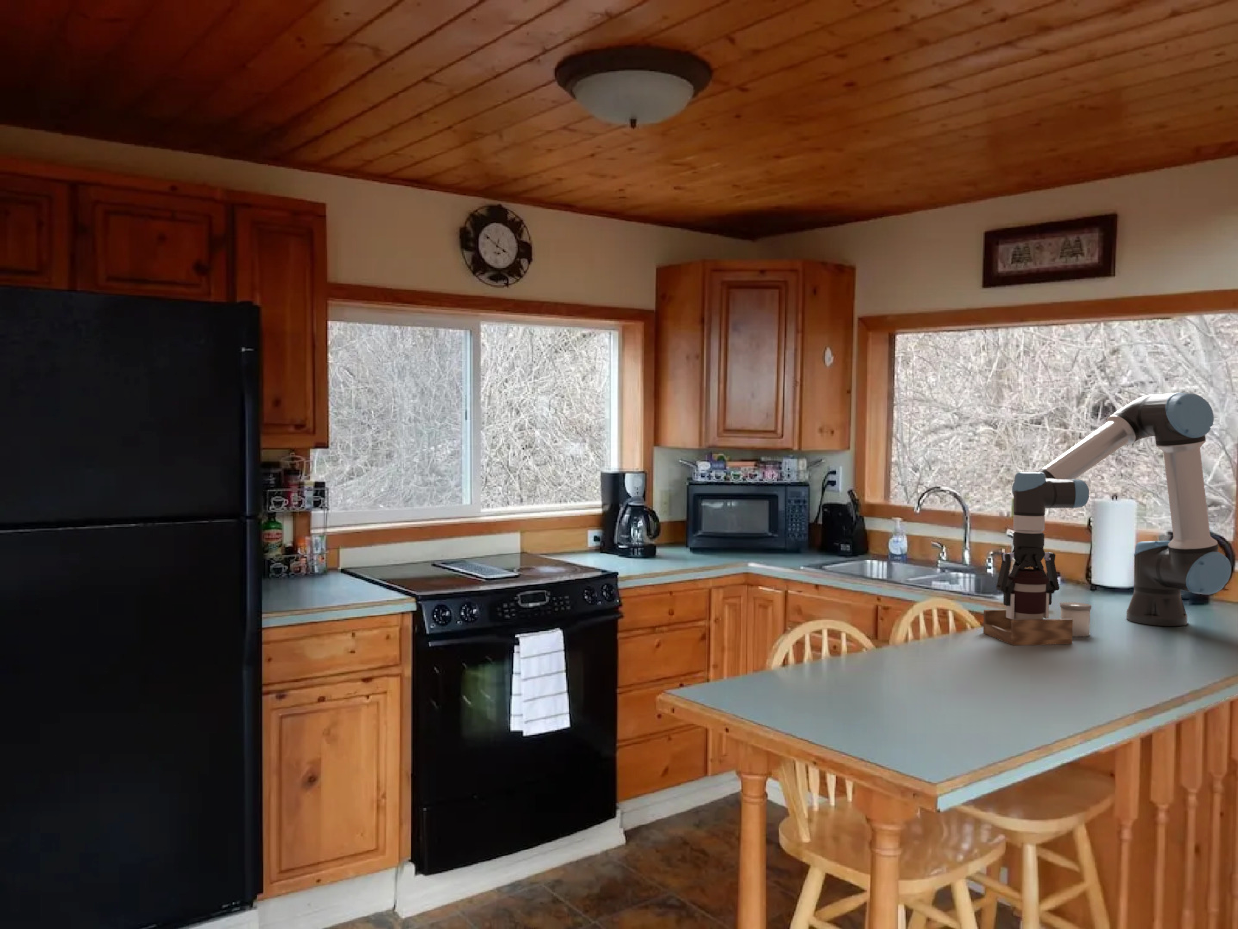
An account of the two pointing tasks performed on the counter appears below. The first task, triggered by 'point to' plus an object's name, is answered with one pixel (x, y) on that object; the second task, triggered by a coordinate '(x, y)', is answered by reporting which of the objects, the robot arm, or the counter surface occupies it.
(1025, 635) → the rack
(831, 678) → the counter surface
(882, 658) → the counter surface
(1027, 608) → the coffee cup
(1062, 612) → the sugar jar
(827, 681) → the counter surface
